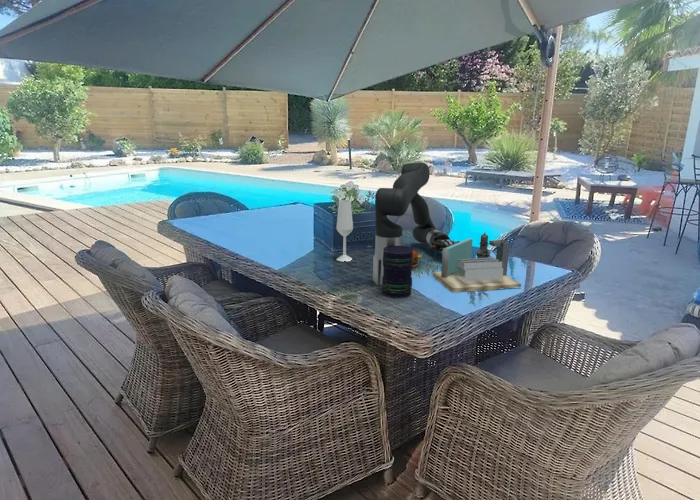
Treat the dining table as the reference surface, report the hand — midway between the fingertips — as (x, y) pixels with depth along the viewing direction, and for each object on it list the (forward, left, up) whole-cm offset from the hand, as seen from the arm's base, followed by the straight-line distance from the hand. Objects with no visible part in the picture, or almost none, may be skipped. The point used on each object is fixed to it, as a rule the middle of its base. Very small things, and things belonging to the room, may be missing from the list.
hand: (454, 250), depth 198 cm
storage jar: (-31, -26, -7) cm, 41 cm away
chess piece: (+15, +6, -7) cm, 17 cm away
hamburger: (-18, +4, -7) cm, 20 cm away
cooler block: (+3, -20, -5) cm, 21 cm away
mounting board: (0, -20, -7) cm, 21 cm away
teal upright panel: (-3, -10, -5) cm, 12 cm away
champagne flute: (-40, +18, -7) cm, 44 cm away
